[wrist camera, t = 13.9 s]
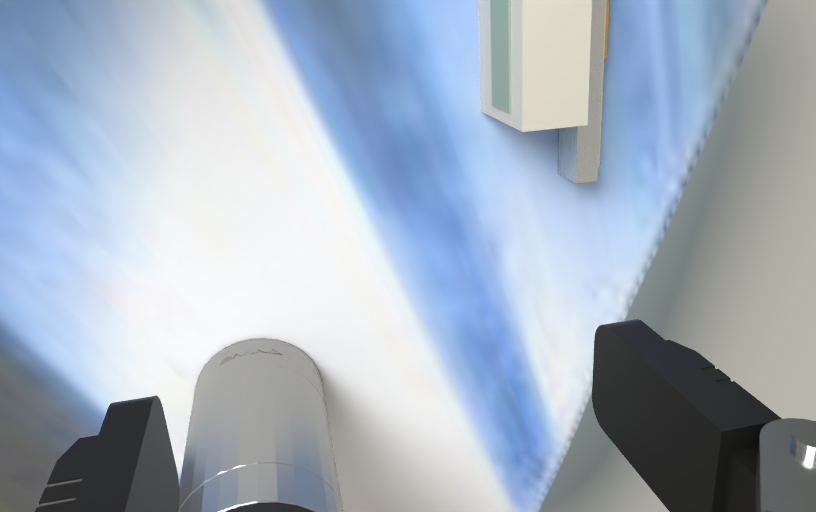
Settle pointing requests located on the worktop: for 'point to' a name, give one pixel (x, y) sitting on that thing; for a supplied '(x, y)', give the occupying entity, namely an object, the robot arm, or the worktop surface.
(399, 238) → the worktop surface
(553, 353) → the worktop surface
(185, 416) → the worktop surface
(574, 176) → the rail
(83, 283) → the worktop surface
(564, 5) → the product carton
